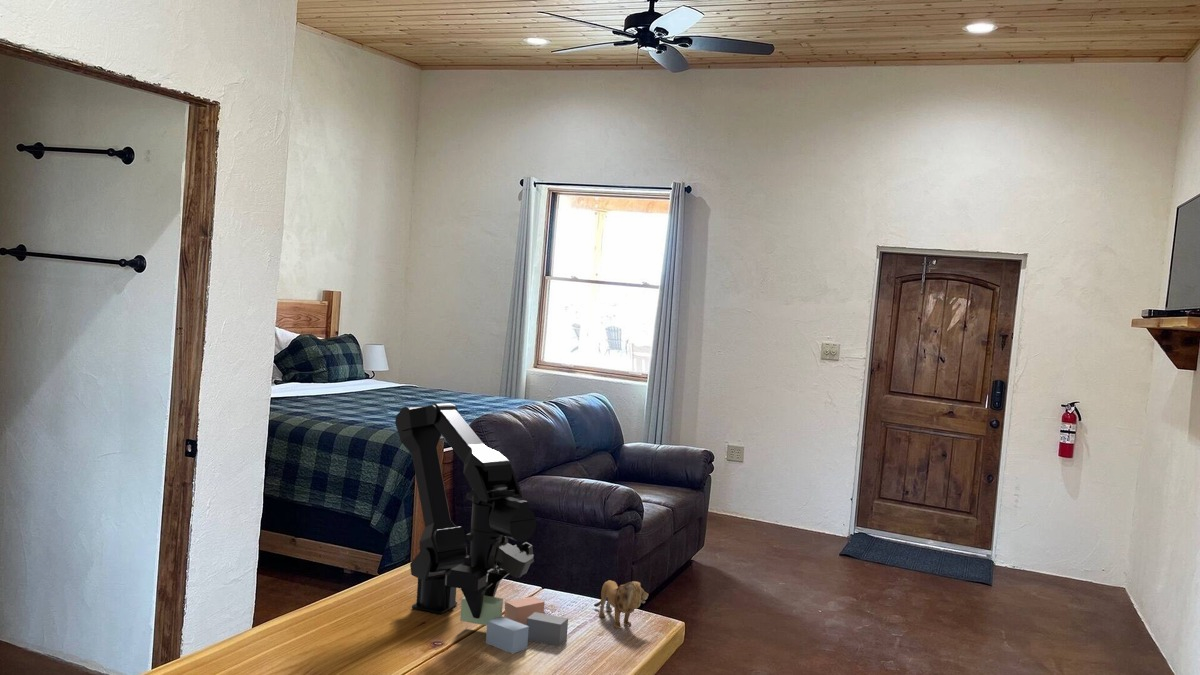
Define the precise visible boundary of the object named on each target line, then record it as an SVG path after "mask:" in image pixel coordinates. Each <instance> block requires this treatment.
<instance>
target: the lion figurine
mask: <svg viewBox="0 0 1200 675" xmlns="http://www.w3.org/2000/svg"><path fill="white" fill-rule="evenodd" d="M600 594H601V595H600V598H601V600H600V601H598V602H597V603H594V604H593V606H594V607H595V608H597V607H599V612H598V618H605V612H604V609H605V610H606V611H607V612H612V611H613V609H614V625H613V626H614V627H615V628H614V627H613V628H614V629H618V628H619V629H621V628H620V627H622V626H621V618H620V617H621V613H622V614H624V616H623V617H624V618H623V624H624V626H626V625H630V626H631V625H632V622H630V621H629V619H630V616H631V614H632V613H634V612H635V610H637V609H638V608H639V607H640V606H641V604H645V603H646V600H647V599H648V597H649V593H648V592H646V591H645V590H644V588H643V587H642V586H641V582H639V581H634V580H633V581H629V582H625V583H624V584H620V585H619V586H618V584H617V582H616V581H614V580H611V579H610V580H607V581H605V582H604V583H603V585H602V588H601V592H600ZM605 604H606V605H605ZM612 607H613V608H612Z"/></svg>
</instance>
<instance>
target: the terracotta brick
mask: <svg viewBox="0 0 1200 675" xmlns="http://www.w3.org/2000/svg"><path fill="white" fill-rule="evenodd" d="M545 604H546V603H545V601H543V600H541V598H540V599H539V598H538V597H535V596H532V595H531V596H529V597H523V598H518V599H512V600H507V601H505V602H504V614H503V615H504V616H503V617H505V618H508V619H510V620H513V621H516V622H519V623H521V624H524V625H527V618H528V617H529V616H530V615H532V614H533V613H534V612H537V613H543V614H545Z"/></svg>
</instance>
